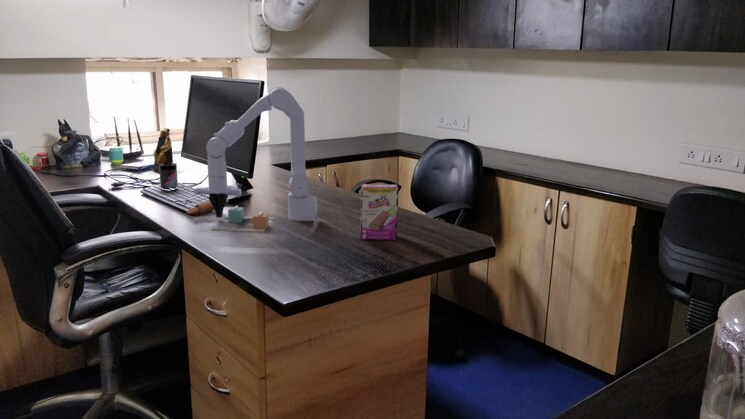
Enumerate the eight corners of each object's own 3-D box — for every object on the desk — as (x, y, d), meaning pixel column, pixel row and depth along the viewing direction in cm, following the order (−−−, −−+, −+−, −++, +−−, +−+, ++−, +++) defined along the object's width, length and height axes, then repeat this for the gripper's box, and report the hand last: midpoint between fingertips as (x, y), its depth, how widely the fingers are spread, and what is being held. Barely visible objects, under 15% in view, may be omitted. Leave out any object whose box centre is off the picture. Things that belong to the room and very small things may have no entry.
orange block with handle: (268, 225, 194) (268, 211, 193) (265, 229, 190) (265, 214, 189) (256, 225, 194) (255, 211, 193) (253, 228, 190) (252, 214, 189)
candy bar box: (360, 240, 184) (360, 187, 180) (360, 235, 189) (360, 183, 185) (397, 240, 185) (398, 187, 181) (396, 236, 190) (397, 184, 186)
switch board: (274, 223, 202) (273, 217, 201) (263, 236, 187) (263, 230, 187) (226, 221, 203) (225, 216, 202) (212, 234, 188) (211, 228, 188)
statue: (151, 171, 285) (148, 128, 281) (168, 169, 290) (165, 127, 285) (160, 175, 276) (157, 130, 271) (177, 173, 281) (175, 129, 276)
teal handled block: (244, 219, 200) (243, 205, 199) (240, 222, 197) (240, 208, 195) (232, 219, 201) (231, 205, 200) (228, 222, 197) (228, 208, 196)
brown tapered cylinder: (207, 204, 224) (215, 190, 221) (222, 215, 223) (230, 201, 221) (178, 217, 207) (186, 201, 205) (194, 229, 206) (202, 213, 204)
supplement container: (161, 192, 243) (159, 166, 240) (159, 188, 249) (157, 163, 246) (179, 190, 246) (177, 165, 243) (176, 187, 252) (175, 162, 249)
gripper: (243, 173, 199) (244, 214, 202) (199, 172, 199) (201, 212, 203) (237, 177, 192) (239, 219, 195) (191, 176, 193) (194, 218, 196)
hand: (219, 216), depth 199 cm, fingers closed
